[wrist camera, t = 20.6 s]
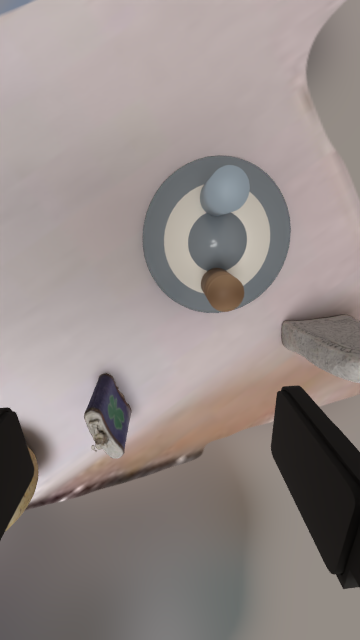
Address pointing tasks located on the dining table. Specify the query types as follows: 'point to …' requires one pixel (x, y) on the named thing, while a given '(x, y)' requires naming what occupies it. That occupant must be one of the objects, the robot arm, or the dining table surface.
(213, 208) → the smooth blue-gray rounded cylinder
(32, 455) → the fossilized egg
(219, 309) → the brown rounded cylinder
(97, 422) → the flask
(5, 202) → the dining table surface
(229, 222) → the plate
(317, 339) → the decorative stone
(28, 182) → the dining table surface
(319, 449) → the robot arm
